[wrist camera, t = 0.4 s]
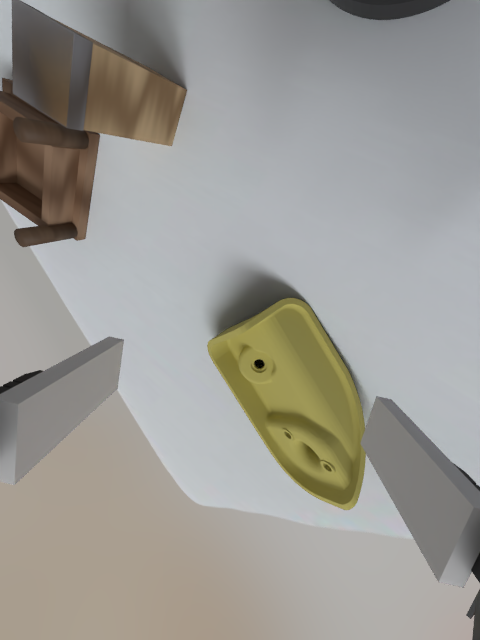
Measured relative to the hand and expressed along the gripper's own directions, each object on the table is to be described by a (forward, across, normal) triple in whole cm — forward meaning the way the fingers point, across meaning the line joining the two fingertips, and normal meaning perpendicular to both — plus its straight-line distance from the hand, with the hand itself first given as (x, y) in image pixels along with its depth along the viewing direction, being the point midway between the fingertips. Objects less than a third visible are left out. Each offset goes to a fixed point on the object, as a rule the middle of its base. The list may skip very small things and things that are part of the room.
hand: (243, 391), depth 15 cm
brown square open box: (+22, -26, +12) cm, 36 cm away
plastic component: (+17, +6, -6) cm, 19 cm away
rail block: (+15, -12, +18) cm, 26 cm away
